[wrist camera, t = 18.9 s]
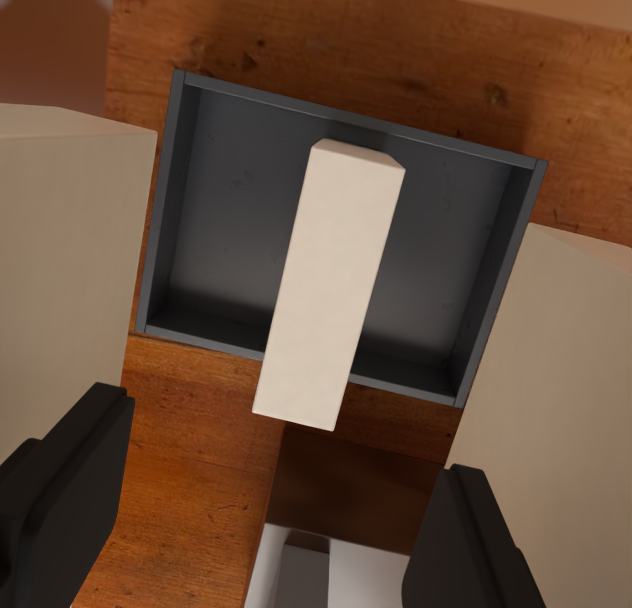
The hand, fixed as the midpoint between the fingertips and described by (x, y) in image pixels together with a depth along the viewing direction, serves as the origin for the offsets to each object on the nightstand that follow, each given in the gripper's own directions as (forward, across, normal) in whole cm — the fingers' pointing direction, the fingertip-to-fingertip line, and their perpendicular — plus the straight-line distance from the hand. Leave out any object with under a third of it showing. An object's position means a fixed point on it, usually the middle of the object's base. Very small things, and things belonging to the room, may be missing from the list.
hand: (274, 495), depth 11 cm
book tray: (+26, -1, -1) cm, 26 cm away
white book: (+25, -1, -1) cm, 25 cm away
